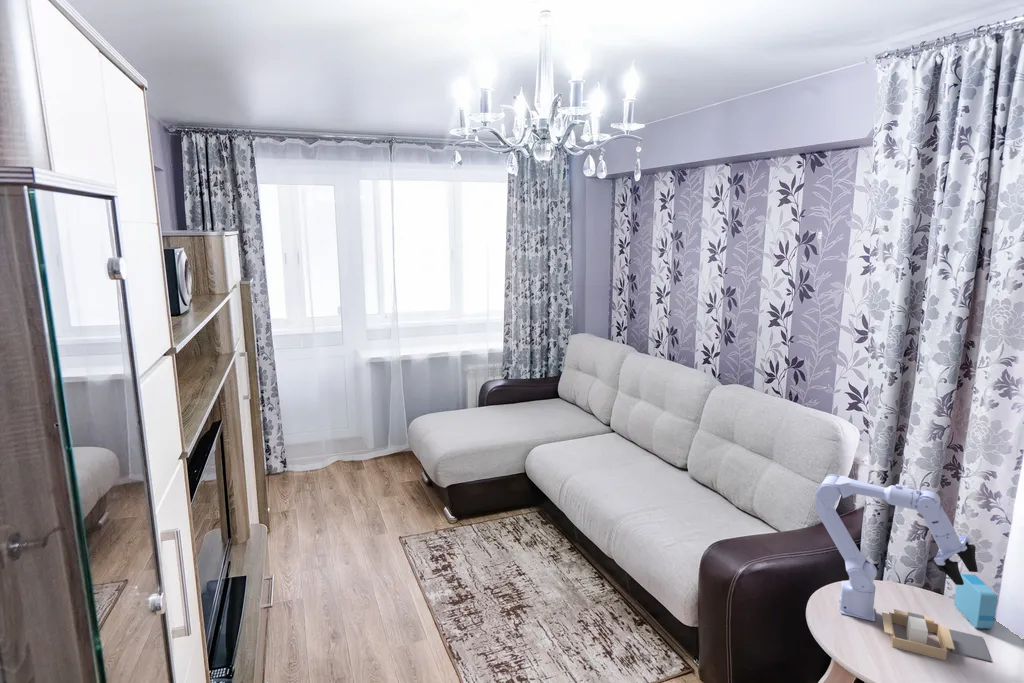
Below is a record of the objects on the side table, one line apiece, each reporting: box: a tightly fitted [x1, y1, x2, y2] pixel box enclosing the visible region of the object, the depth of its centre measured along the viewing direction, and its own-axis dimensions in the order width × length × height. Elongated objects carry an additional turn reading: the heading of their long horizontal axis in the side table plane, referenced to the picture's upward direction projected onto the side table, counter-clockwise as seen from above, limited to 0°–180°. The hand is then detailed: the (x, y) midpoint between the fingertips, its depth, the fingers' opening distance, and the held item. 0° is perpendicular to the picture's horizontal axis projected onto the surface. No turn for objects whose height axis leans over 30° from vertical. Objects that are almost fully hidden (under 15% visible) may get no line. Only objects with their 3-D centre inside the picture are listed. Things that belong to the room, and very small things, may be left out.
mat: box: [949, 629, 992, 663], centre depth 175 cm, size 9×11×1 cm
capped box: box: [905, 611, 929, 645], centre depth 177 cm, size 4×8×6 cm, turn 153°
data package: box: [953, 573, 998, 630], centre depth 186 cm, size 12×4×12 cm, turn 173°
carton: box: [881, 608, 955, 661], centre depth 178 cm, size 17×15×3 cm
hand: (966, 577), depth 171 cm, fingers open, 7 cm apart
